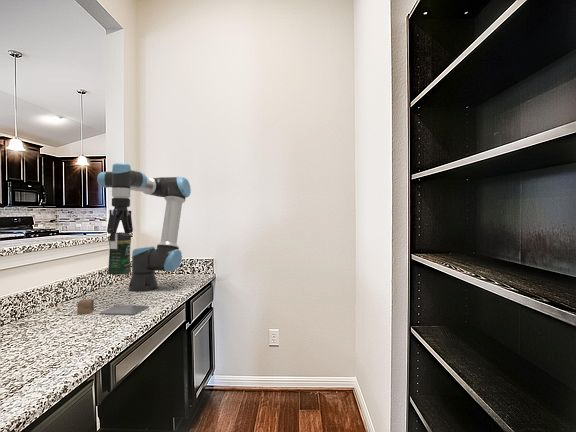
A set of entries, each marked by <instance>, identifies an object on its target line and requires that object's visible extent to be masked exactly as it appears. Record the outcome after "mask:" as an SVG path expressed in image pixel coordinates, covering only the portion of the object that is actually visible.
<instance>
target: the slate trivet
mask: <svg viewBox="0 0 576 432" xmlns="http://www.w3.org/2000/svg"><path fill="white" fill-rule="evenodd" d="M149 307H150V306H149V305H118V304H116V305H114V306H112V307H109V308H108V309H105V310H103V311H100V312H99V314H105V315H106V316H107V315H109V316H136V315H139V313H141V312H143V311H145V310H147V309H149Z"/></svg>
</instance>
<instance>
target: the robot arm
mask: <svg viewBox="0 0 576 432" xmlns="http://www.w3.org/2000/svg"><path fill="white" fill-rule="evenodd" d="M131 167H132V166H131V164H129V163H125V162H115V163H113V165H112V169H111V171H102V172H99V173H98V175H97V177H96V178H97V184H98V185H99V187H101V188H111V197H113V198H111V207H114V209H109V210H108V211H109V212H108V213H109V215H108V223H107V228H106V232H107V234H108V235H109V234H110V235H109V236H110V246H109V250H110V249H117V234H116V233H118V228H119V225H120V222H121V225H122V227H123V231H124V232H123V233H129V234H130V235H131V234H133V231H134V228H133V220H132V210H128V208H129V207H130V206H131V199H130V198H131V191H134V192H140V193H141V192H142V193H144V194H145V195H150V196H154V197H159V198H164V200H165V202H166V204H165V210H164V218H163V222H162V230H161V237H160V242H159V243H157V245H156V247H155V246H146V247H138V248H134V249H133V250H132V253H131V260H132V261H131V262H132V263H131V266H132V267H131V269H132V270H131V272H132V273H131V278H130V281H129V283H128V291H131V292H146V291H147V292H149V291H153V290H157V289H158V288H159V283H158V280H157V277H156V275H155V272H156V271H162V272H163V271H164V272H169V271H170V272H173V271H176V270H178V269H179V267H180V266H181V263H182V260H183V259H182V258H183V254H182V251H181V250H180V247H179V246H178V243H177V242H178V236H179V230H180V221H181V215H182V207H183V204H184V203H185V202H186V198H188V197H190V195H191V193H192V192H191V185H190V182H189V180H188V178H186V177H183V176H169V177H167V176H164V177H162V176H160V177H147V175H146V174H145V173H143V172H141V171H137V170H132V168H131Z"/></svg>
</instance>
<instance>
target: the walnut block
mask: <svg viewBox="0 0 576 432" xmlns="http://www.w3.org/2000/svg"><path fill="white" fill-rule="evenodd" d="M76 309H77V310H76V311H77V312H76V313H77V315H78V316H79V315H90V313H91V314H93V312H94V311H95V310H94V309H95V301H94V298H93V299H92V298H91V299H80V300H79V301H77V308H76Z"/></svg>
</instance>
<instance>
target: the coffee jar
mask: <svg viewBox="0 0 576 432" xmlns="http://www.w3.org/2000/svg"><path fill="white" fill-rule="evenodd" d="M116 234H117V249H110V248H109V254H108V255H109V256H108V267H107V269H108V271H107V273H108V275H112V276H117V275H122V276H123V275H127V274H130V273H131V243H132V235H131V233H130V234H129V233H125V232H123V231H121V232H120V231H119V232H116ZM108 246H109V247H110V235H109V238H108Z"/></svg>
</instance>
